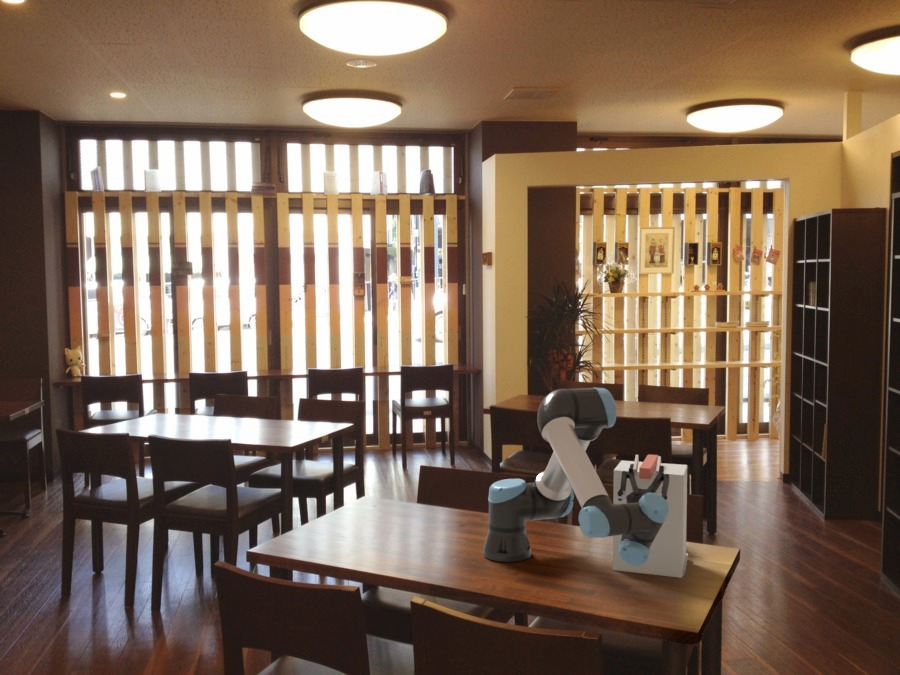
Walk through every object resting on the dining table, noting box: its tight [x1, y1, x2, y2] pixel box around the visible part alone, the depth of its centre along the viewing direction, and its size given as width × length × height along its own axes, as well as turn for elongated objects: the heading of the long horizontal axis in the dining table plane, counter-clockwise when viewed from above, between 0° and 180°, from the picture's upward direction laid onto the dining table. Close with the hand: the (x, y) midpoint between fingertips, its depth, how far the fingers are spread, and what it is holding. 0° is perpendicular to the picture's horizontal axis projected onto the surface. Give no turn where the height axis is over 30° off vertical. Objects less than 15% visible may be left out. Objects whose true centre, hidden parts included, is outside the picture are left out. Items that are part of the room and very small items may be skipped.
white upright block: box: [611, 460, 689, 579], centre depth 243 cm, size 18×21×30 cm
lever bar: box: [639, 454, 659, 479], centre depth 236 cm, size 22×3×3 cm, turn 160°
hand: (648, 459), depth 234 cm, fingers open, 6 cm apart
